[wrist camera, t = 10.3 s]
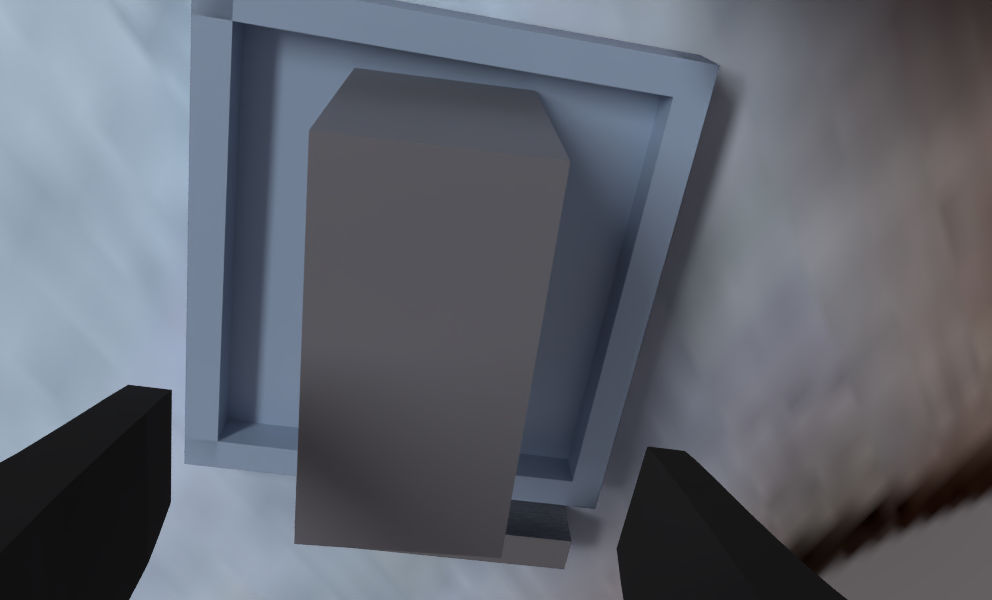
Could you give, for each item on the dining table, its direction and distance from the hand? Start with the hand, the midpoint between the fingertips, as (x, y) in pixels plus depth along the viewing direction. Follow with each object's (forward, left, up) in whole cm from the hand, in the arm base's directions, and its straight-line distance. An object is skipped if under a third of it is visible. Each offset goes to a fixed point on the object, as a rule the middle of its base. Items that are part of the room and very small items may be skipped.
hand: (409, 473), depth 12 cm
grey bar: (0, +1, -8) cm, 8 cm away
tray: (0, 0, -9) cm, 9 cm away
